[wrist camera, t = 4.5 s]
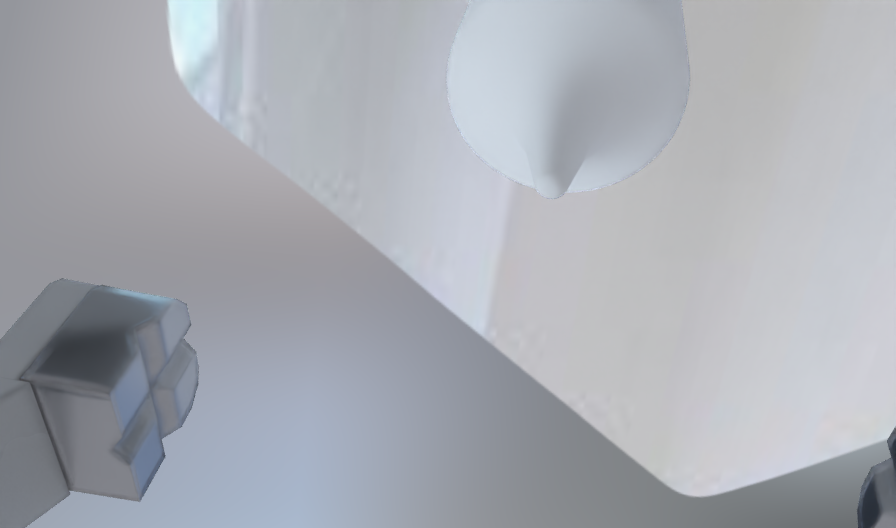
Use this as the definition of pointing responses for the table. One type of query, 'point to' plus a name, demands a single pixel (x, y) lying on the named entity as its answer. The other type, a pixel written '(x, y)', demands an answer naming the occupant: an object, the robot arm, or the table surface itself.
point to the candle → (568, 88)
